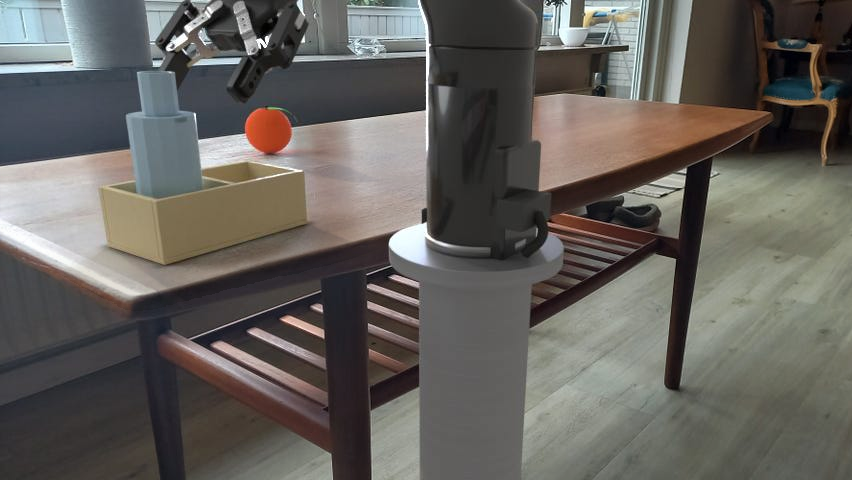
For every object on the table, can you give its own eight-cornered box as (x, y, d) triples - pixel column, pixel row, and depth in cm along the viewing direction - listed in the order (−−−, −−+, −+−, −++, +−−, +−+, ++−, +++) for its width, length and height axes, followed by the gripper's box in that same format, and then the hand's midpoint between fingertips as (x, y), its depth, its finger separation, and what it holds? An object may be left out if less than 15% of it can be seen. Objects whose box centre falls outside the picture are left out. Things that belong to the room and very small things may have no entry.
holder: (307, 223, 71) (304, 170, 69) (164, 265, 58) (155, 201, 56) (252, 210, 75) (248, 160, 73) (107, 246, 62) (97, 186, 60)
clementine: (294, 147, 112) (291, 102, 109) (304, 155, 106) (302, 107, 103) (243, 150, 108) (239, 104, 106) (251, 158, 102) (246, 109, 100)
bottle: (221, 234, 64) (204, 72, 59) (167, 249, 59) (144, 75, 55) (185, 224, 67) (166, 69, 62) (131, 237, 62) (106, 71, 57)
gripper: (191, -65, 68) (110, 61, 61) (312, -68, 63) (237, 69, 56) (234, -4, 74) (164, 115, 68) (347, -3, 69) (282, 126, 63)
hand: (197, 94), depth 62 cm, fingers open, 8 cm apart
